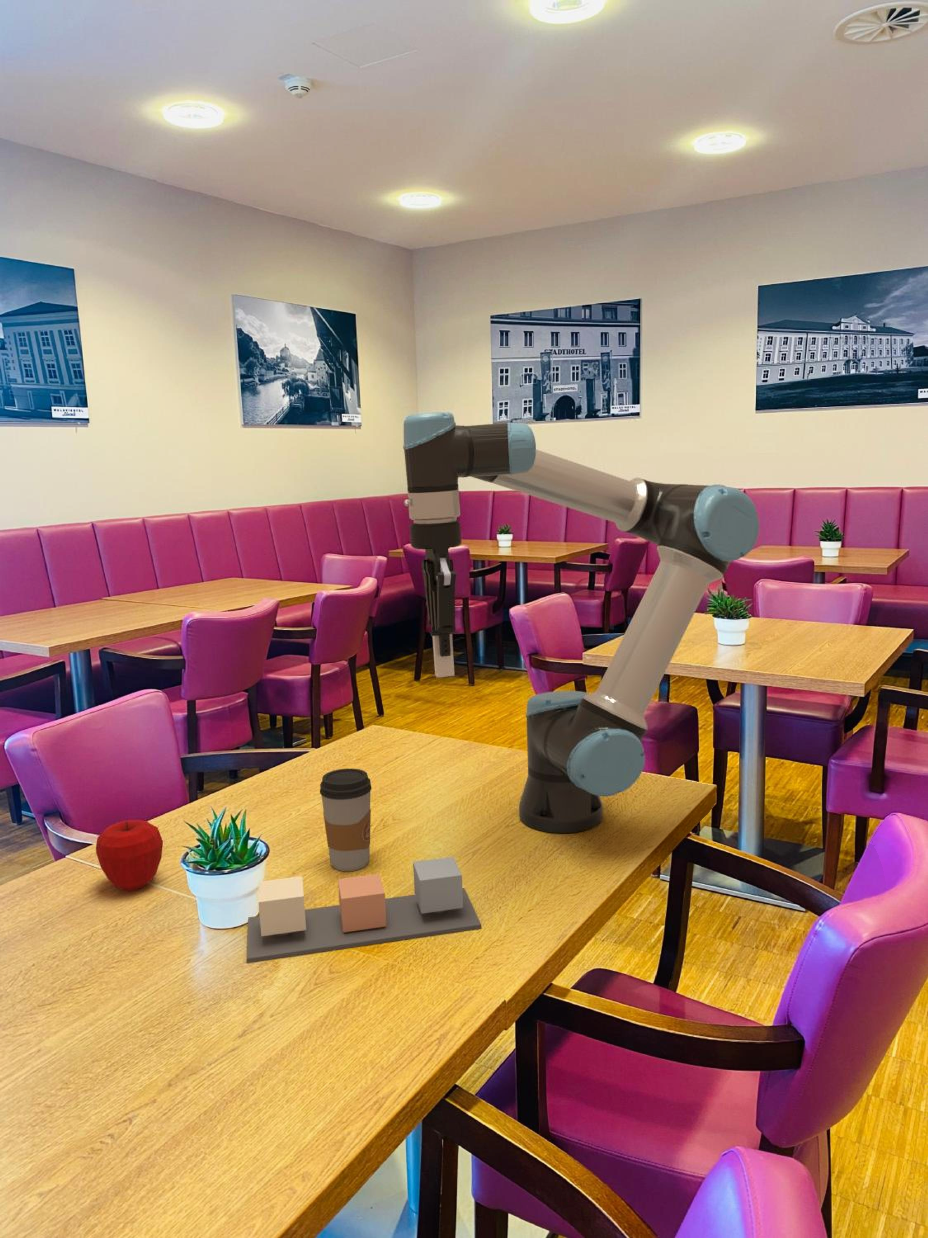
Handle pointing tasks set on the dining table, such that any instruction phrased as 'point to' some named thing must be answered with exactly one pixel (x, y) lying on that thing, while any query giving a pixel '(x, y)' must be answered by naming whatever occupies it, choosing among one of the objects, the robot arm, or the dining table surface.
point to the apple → (129, 853)
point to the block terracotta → (362, 902)
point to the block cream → (281, 906)
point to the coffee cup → (347, 817)
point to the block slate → (438, 885)
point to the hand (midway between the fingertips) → (444, 675)
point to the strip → (329, 934)
